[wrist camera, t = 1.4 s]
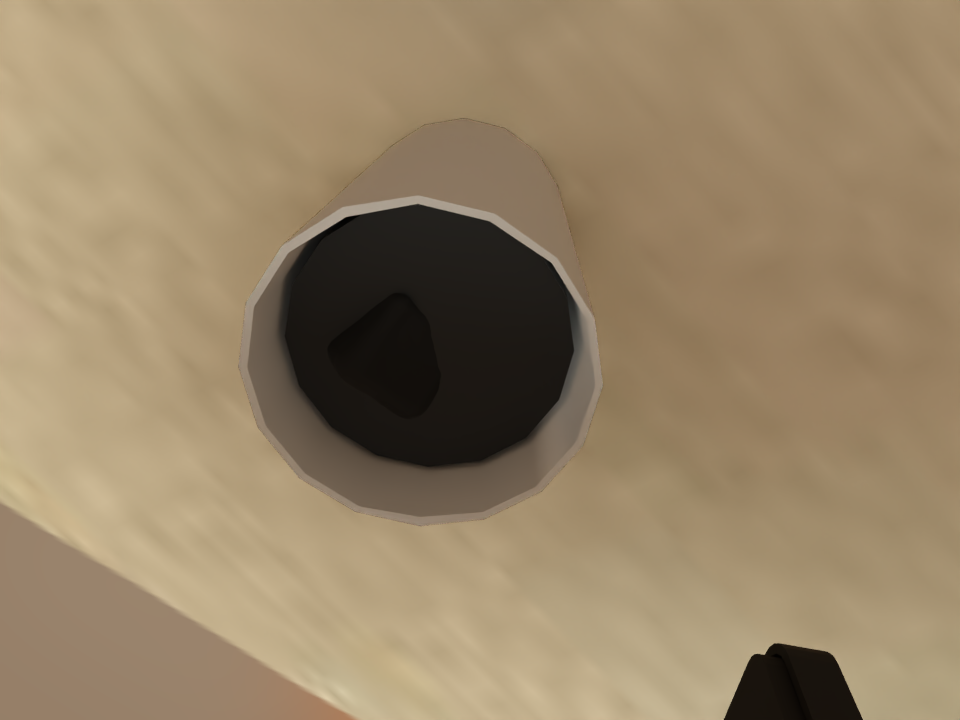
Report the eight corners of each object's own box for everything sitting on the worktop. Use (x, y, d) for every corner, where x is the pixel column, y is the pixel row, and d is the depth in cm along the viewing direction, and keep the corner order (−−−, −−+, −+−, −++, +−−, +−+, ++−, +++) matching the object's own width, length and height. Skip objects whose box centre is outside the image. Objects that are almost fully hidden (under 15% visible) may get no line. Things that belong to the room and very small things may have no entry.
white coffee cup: (459, 368, 27) (420, 580, 18) (300, 214, 25) (164, 362, 16) (627, 228, 24) (680, 388, 15) (465, 47, 23) (418, 109, 14)
